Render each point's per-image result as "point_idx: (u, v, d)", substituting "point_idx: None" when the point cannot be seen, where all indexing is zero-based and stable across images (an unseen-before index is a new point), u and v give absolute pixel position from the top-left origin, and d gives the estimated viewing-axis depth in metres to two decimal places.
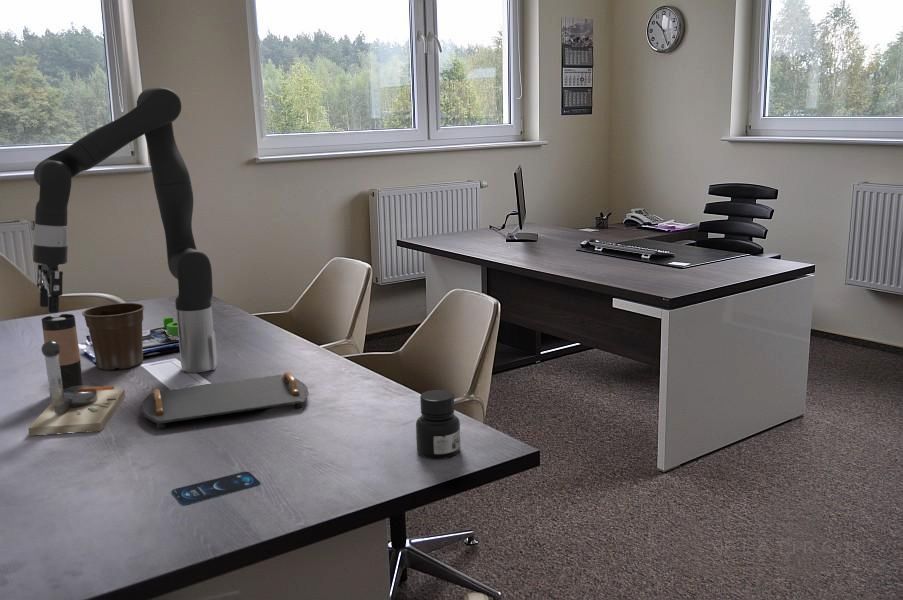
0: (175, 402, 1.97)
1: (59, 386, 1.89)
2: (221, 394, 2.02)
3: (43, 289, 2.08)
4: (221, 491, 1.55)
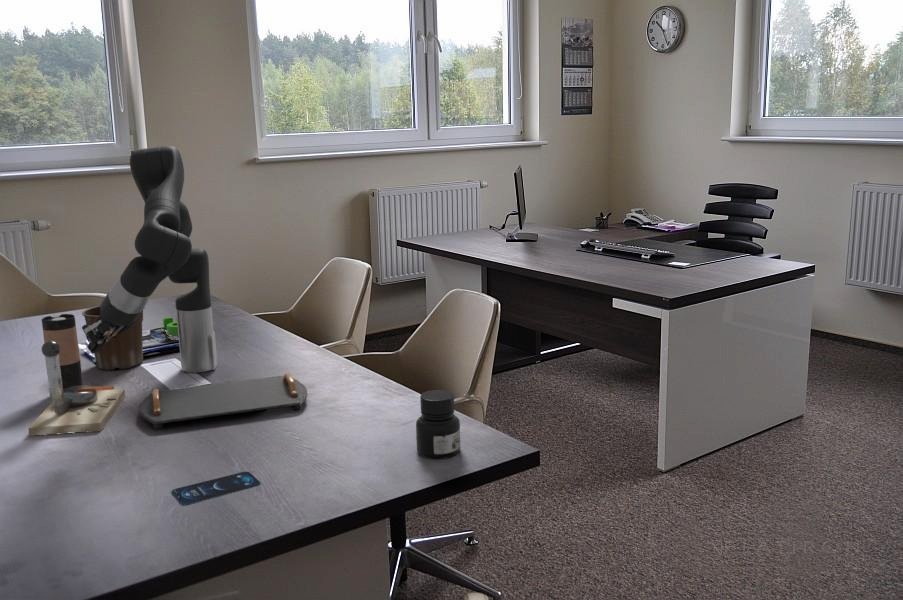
0: (174, 402, 1.97)
1: (59, 386, 1.89)
2: (220, 395, 2.01)
3: None
4: (221, 491, 1.55)
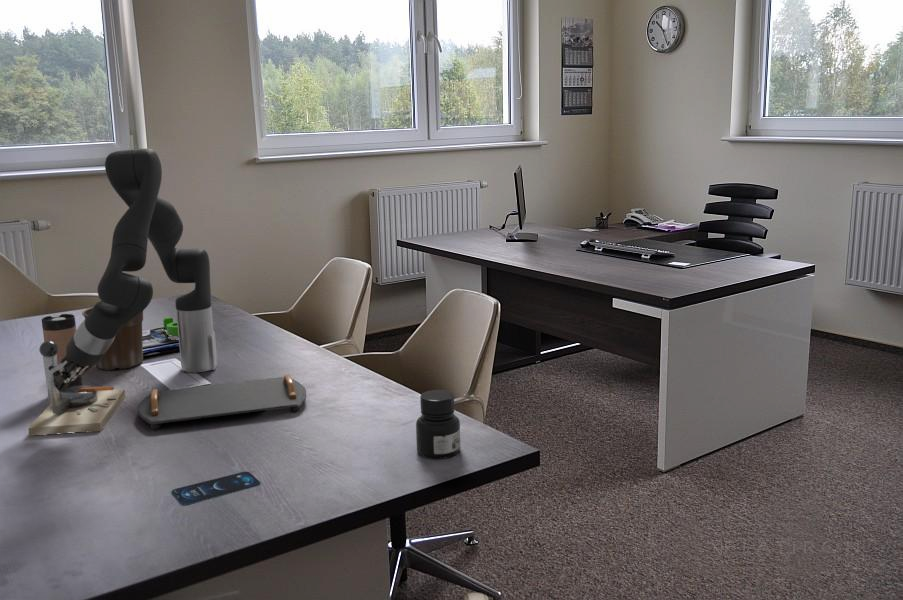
0: (172, 403, 1.97)
1: None
2: (219, 395, 2.01)
3: None
4: (221, 491, 1.55)
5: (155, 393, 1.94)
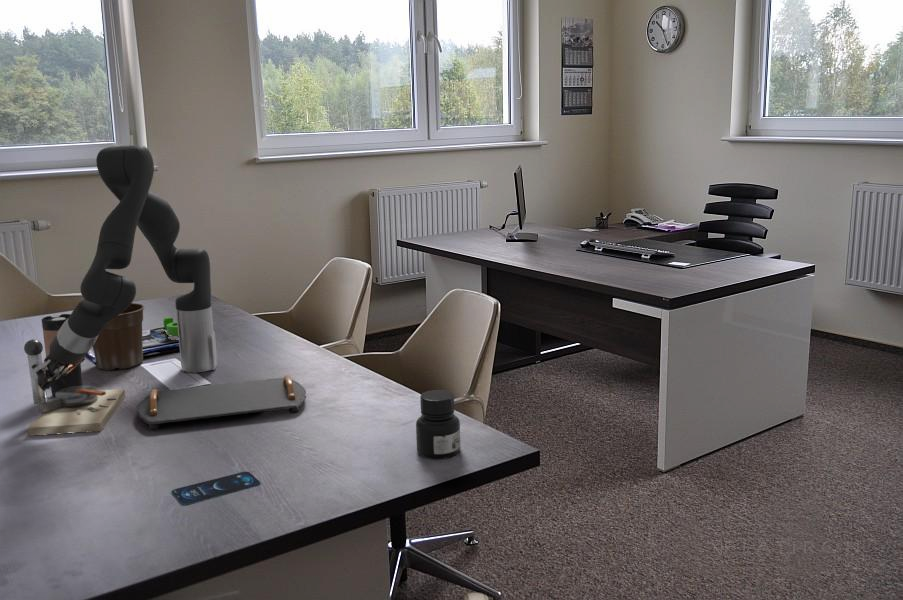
0: (172, 403, 1.97)
1: (38, 385, 1.90)
2: (219, 396, 2.01)
3: None
4: (221, 491, 1.55)
5: (154, 393, 1.94)
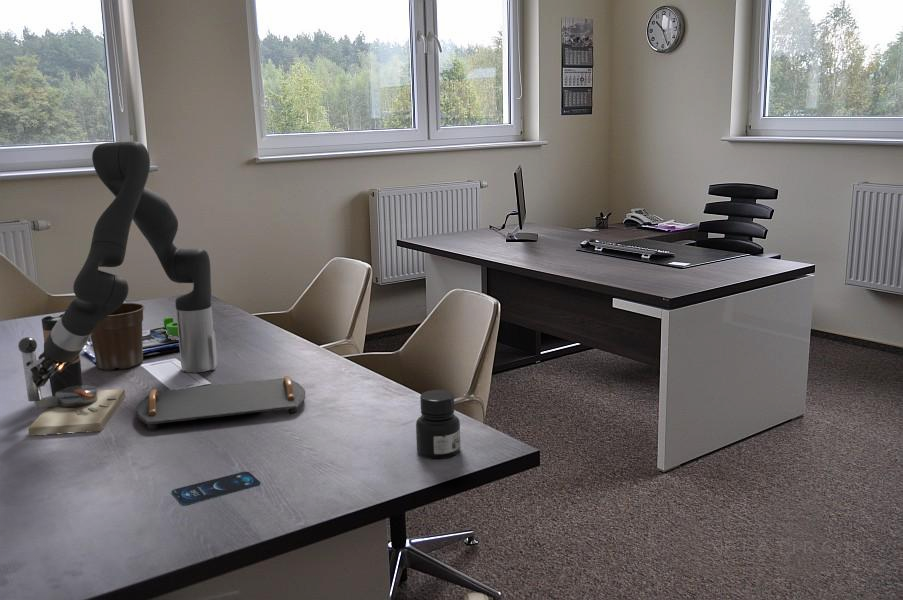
0: (171, 403, 1.96)
1: (30, 383, 1.92)
2: (218, 396, 2.00)
3: None
4: (221, 491, 1.55)
5: (153, 393, 1.94)
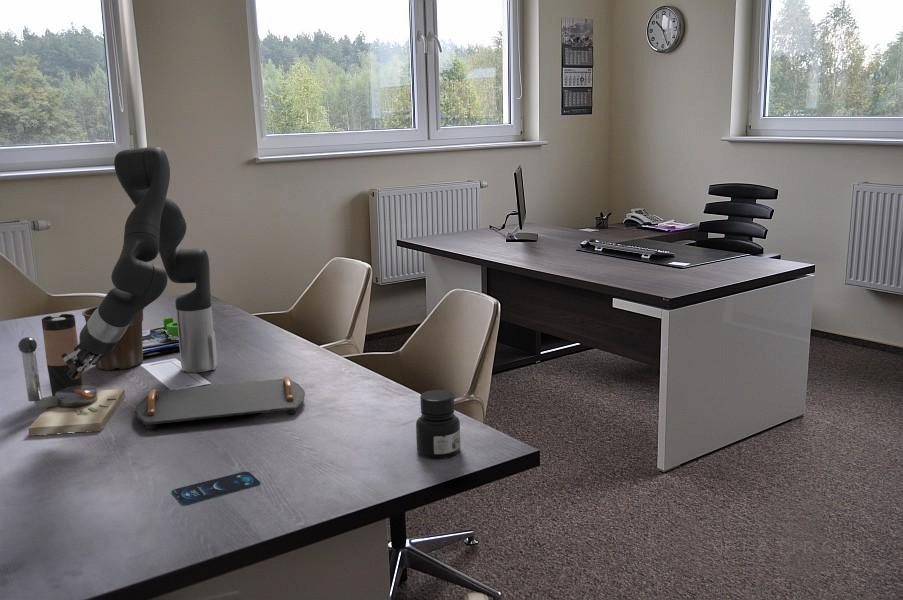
0: (170, 403, 1.96)
1: (30, 383, 1.92)
2: (217, 397, 2.00)
3: None
4: (221, 491, 1.55)
5: (153, 393, 1.94)
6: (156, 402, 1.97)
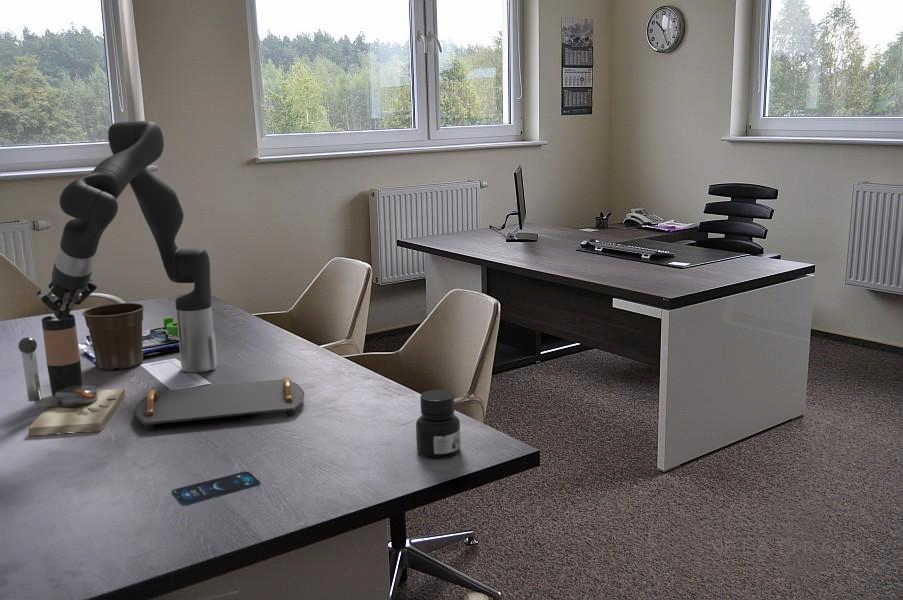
0: (169, 403, 1.96)
1: (30, 383, 1.92)
2: (217, 397, 2.00)
3: None
4: (221, 491, 1.55)
5: (152, 393, 1.94)
6: (155, 402, 1.97)
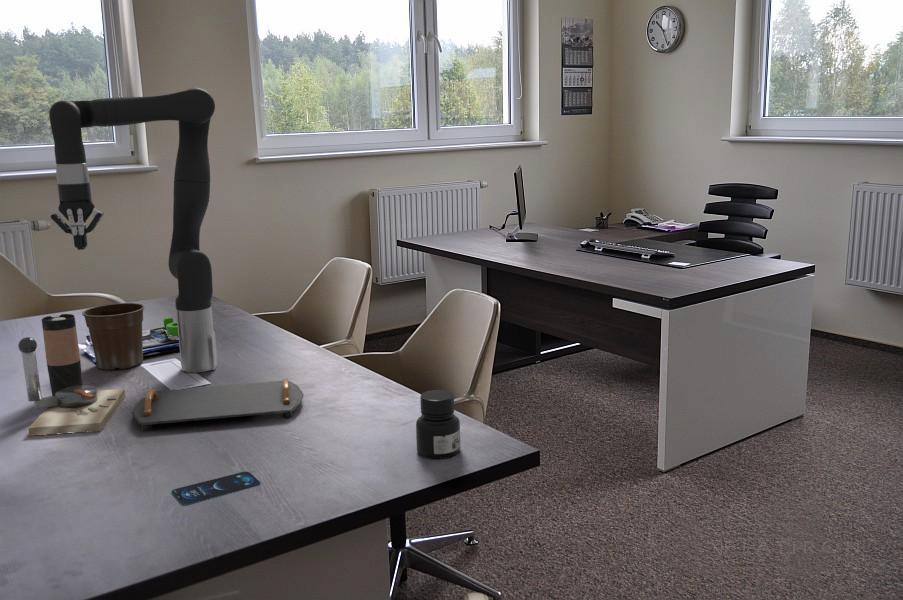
0: (168, 403, 1.96)
1: (30, 383, 1.92)
2: (216, 398, 1.99)
3: (78, 232, 2.16)
4: (221, 491, 1.55)
5: (150, 393, 1.94)
6: (154, 402, 1.97)
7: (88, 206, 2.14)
